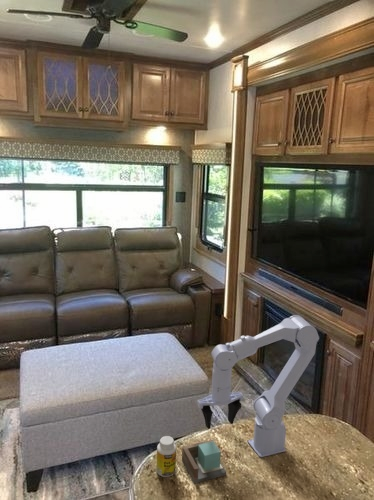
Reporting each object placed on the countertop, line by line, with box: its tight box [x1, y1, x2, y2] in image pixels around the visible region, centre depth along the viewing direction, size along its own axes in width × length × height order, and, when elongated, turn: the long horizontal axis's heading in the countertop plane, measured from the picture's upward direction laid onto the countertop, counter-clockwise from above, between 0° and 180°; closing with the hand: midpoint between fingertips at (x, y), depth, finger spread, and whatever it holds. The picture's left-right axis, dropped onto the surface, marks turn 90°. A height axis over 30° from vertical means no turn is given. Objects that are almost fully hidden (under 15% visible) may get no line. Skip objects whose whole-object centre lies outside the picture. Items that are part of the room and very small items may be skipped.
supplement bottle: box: [156, 435, 177, 478], centre depth 120 cm, size 6×6×10 cm
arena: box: [181, 439, 227, 484], centre depth 123 cm, size 10×10×4 cm
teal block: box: [198, 440, 221, 471], centre depth 123 cm, size 5×5×5 cm
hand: (219, 424), depth 129 cm, fingers open, 7 cm apart
